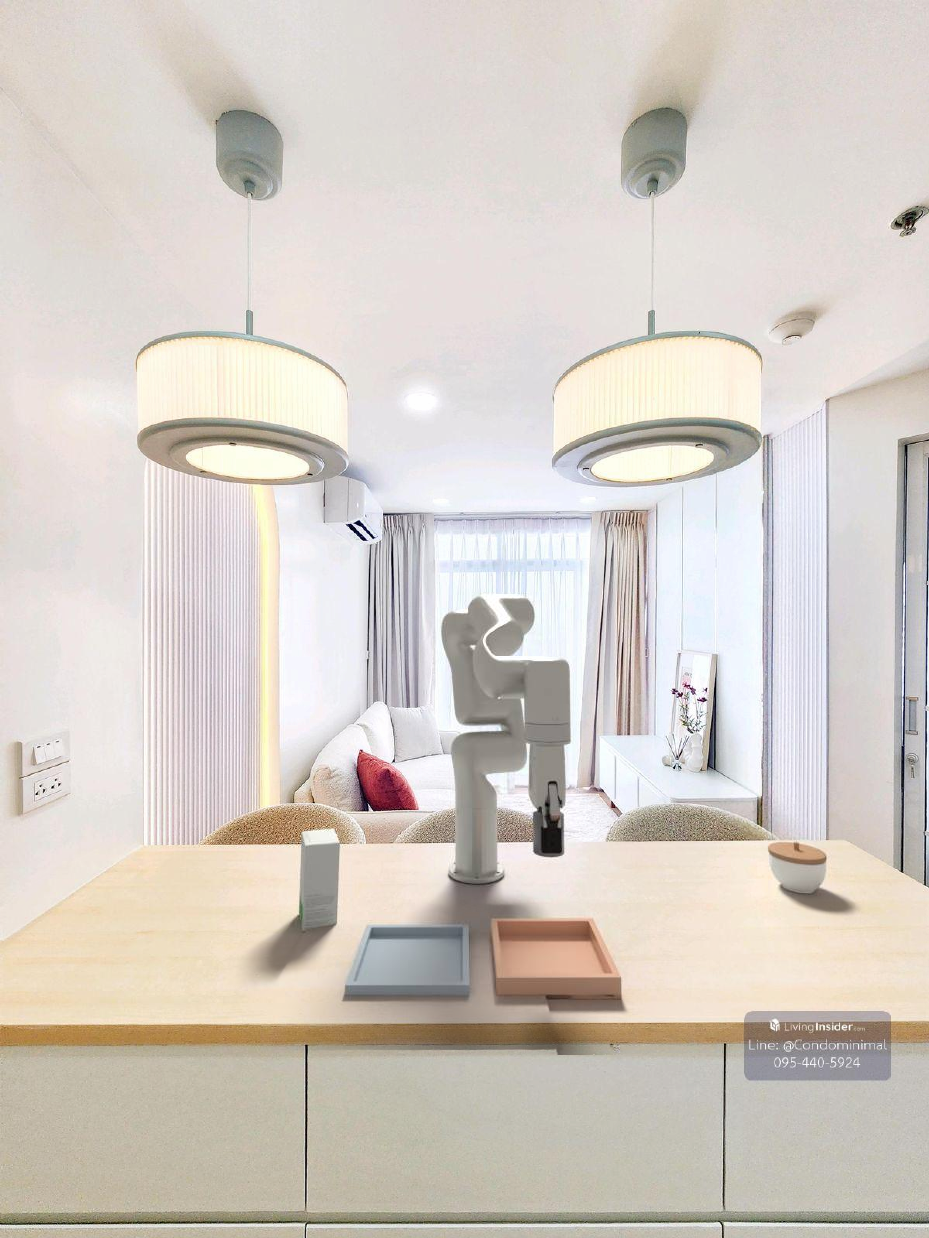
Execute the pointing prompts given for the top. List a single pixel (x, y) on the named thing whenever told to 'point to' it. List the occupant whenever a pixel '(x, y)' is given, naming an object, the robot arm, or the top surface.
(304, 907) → the skincare box
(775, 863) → the lidded jar
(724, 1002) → the top surface
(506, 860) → the top surface
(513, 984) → the terracotta dish
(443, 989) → the parts tray
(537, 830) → the gray metal cylinder
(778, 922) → the top surface
